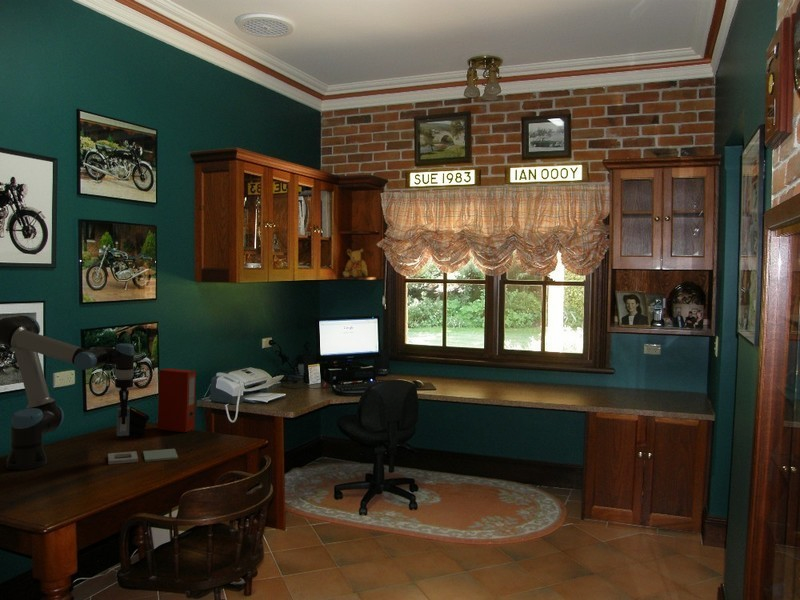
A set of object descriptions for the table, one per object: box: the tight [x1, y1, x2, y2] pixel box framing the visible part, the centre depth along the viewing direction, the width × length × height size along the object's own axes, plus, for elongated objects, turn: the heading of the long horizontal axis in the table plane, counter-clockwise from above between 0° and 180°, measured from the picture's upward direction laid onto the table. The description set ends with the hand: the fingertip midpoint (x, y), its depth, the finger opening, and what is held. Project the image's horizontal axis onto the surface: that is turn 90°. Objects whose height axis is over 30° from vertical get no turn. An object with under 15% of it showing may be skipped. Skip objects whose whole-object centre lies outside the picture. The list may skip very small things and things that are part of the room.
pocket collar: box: [107, 451, 139, 465], centre depth 290 cm, size 12×12×2 cm
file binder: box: [157, 367, 197, 433], centre depth 344 cm, size 8×17×32 cm, turn 75°
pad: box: [142, 448, 179, 463], centre depth 297 cm, size 14×14×1 cm
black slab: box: [120, 406, 150, 438], centre depth 328 cm, size 4×13×15 cm, turn 88°
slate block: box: [116, 406, 130, 437], centre depth 289 cm, size 5×5×12 cm
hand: (122, 429), depth 290 cm, fingers closed on slate block, 5 cm apart
